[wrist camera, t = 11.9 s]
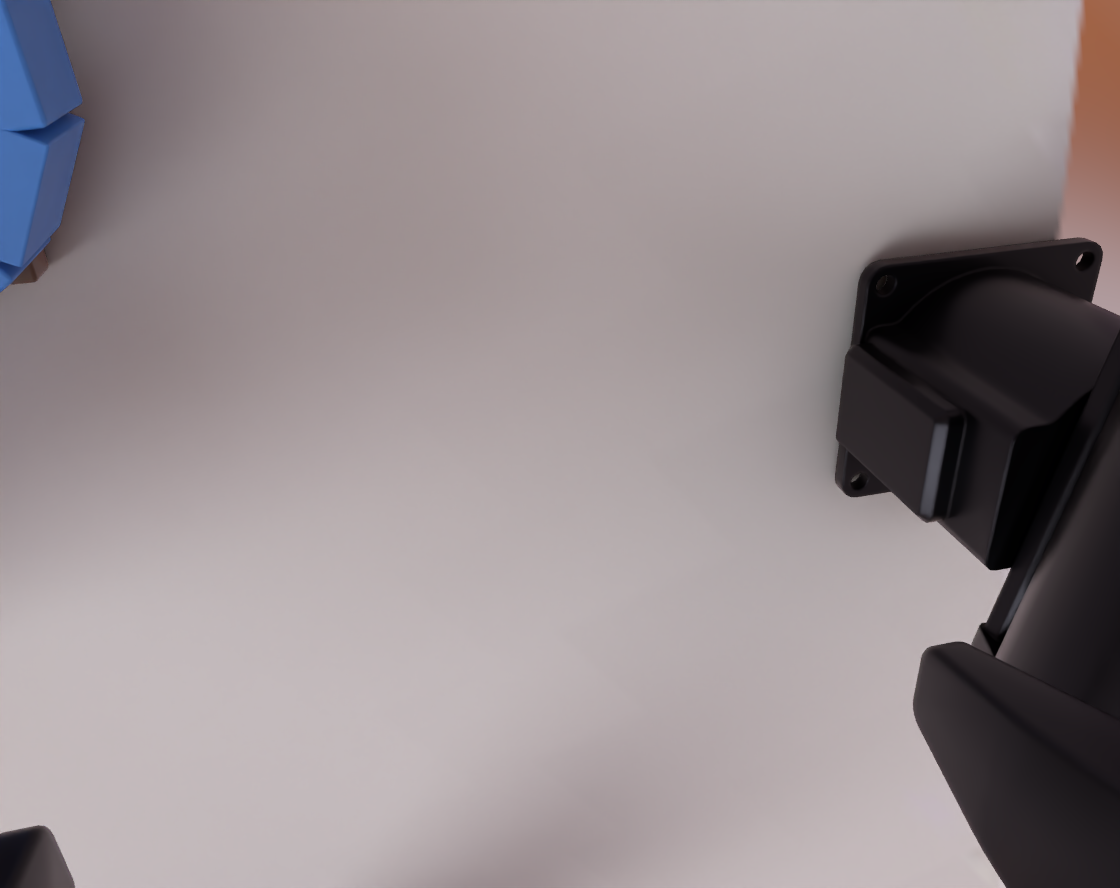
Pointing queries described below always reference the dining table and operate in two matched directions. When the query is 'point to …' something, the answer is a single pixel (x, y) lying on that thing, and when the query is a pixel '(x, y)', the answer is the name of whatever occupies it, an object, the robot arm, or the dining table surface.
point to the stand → (33, 270)
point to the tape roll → (33, 131)
